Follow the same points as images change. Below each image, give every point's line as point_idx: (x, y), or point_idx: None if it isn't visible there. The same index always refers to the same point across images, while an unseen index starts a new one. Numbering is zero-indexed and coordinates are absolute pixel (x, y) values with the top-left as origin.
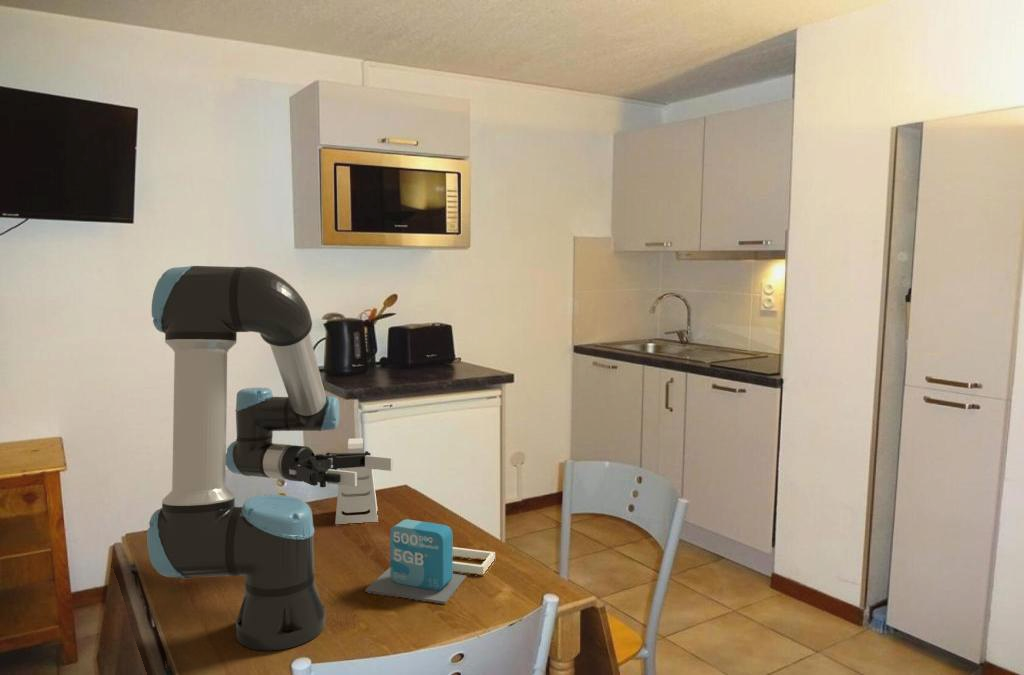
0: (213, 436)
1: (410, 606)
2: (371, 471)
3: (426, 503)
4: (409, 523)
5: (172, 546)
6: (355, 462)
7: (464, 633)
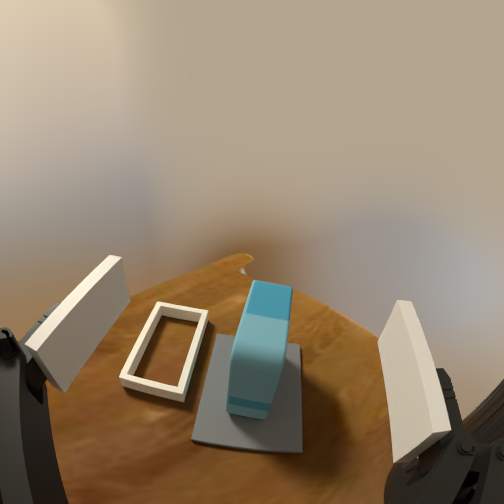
0: None
1: (318, 380)
2: None
3: None
4: (262, 330)
5: None
6: (38, 421)
7: (347, 320)
